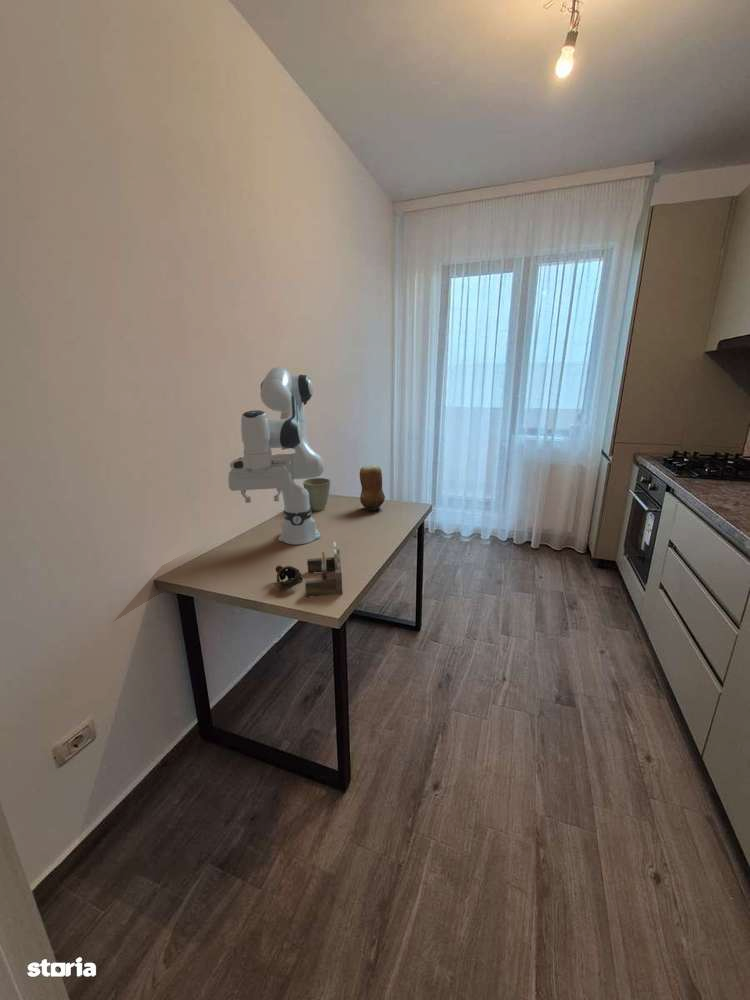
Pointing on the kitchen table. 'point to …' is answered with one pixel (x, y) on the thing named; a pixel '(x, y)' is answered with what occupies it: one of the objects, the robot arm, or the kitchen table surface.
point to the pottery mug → (291, 574)
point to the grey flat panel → (324, 567)
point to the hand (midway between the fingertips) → (262, 501)
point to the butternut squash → (371, 487)
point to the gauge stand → (325, 585)
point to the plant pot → (317, 492)
